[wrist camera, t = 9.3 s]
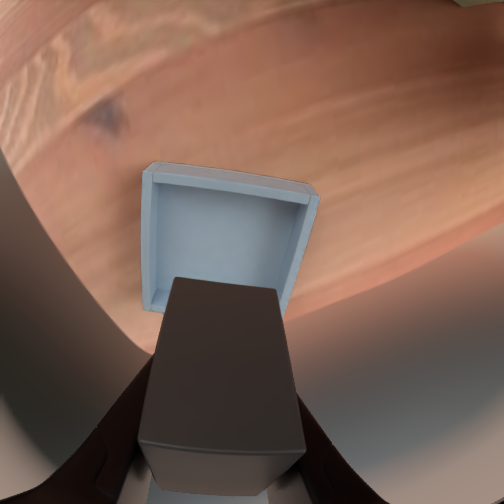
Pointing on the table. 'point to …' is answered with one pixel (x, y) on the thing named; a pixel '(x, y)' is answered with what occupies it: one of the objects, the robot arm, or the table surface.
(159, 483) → the charcoal rectangular block
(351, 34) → the table surface
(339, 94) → the table surface
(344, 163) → the table surface
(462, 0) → the cabinet
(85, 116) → the table surface
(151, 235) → the dish
